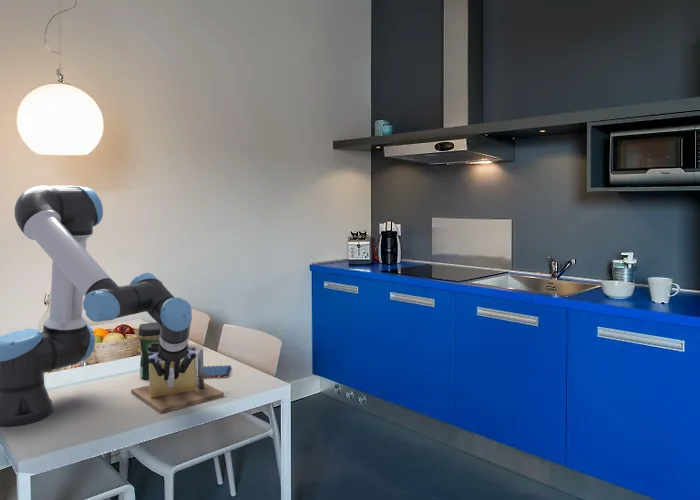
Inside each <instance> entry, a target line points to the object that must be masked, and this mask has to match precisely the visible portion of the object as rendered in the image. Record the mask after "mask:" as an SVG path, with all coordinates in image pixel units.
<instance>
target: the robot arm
mask: <svg viewBox="0 0 700 500" xmlns="http://www.w3.org/2000/svg"><path fill="white" fill-rule="evenodd" d="M103 207H104V206H103V203H102V201H101V198H100V197H99V196H98V193H96V191H94V190H93V189H92V188H90V187H86V186H80V185H38V186H37V185H36V186H32V187H30V188H28V189H25V191H23V192H22V193H21V194H20V195H19V197H18V198H17V200H16V203H15V205H14V219H15V221H16V225H17V226H18V228H19V229H20V231H21V232H22V233H23V235H24V236H25V237H27V239H29V240H32V241H35V242H36V243H37V244H38V245H39V247H40V248H41V249H43V251H44V252H45V254H47V256H49V258H50V259H51V260H52V264H51V266H52V267H51V287H50V302H49V303H50V306H49V307H50V308H49V317H47V318H46V319H45V320H44V321H43V327H42V328H43V330H42V331H41V330H40V329H38V328H37V329H36V328H27V329H25V328H24V329H23V330H22V329H21V330H15V331H12V332H8V333H6V334H4V335H2V336H0V427H10V426H13V427H15V426H21V425H26V424H31V423H34V422H37V421H40V420H42V419H44V418H45V419H46V417H48V416H50V415H51V414H52V413H53V411H54V409H53V408H54V407H53V406H54V405H53V401H52V399H51V398H50V396H49V394H48V390H47V389H46V386H45V373H49V372H52V371H54V370H58V369H63V368H65V367H70V366H74V365H77V364H79V363H81V362H84V361H86V360H87V359H88V358H89V357H90V356H91V355H92V354H93V352H94V348H95V343H96V338H95V334H93V333H94V330H93V329H92V327H91V326H90V325H89V324H88V321H87V320H86V318H84V316H83V310H84V311H85V316H86V317H87V318H88V320H90V321H92V322H96V323H100V322H107V321H113V320H115V319H119V318H124V317H127V316H132V315H137V314H141V313H146V312H147V314H148V315H149V316H150V317H151V318H152V319H153V320H154V321H155V322H157V323H158V324H159V326H160V338H159V349H158V350H157V353H156V354H153V353H149V363H151V364H153V366H154V368H155V370H156V372H157V374H158V376H162V375H164V380H167V383H168V387H173V385H174V379H177V378H178V377H179V373H185V371H186V370H187V368H188V366H189V365H190V363H191V361H192V360H193V359H194V358H195V357H196V354H197V350H196V348H195V347H192V348H191V349H189V339H190V330H191V323H192V320H193V316H192V315H193V314H192V313H193V312H192V307H191V304H190V303H189V301H187V299H183V298H180V297H176V296H174V295H173V294H172V293H171V292H170V290H169V289H168V288H167V287H166V286H165V285H164V284H163V282H162V281H161V280H160V279H158V278H157V276H155V275H154V274H153V273H150V272H143V273H141V274H140V275H137V276H135V277H134V278H133V279H132V280H131V282H130V283H129V284H127V285H120V286H119V285H118V284H117V283H116V282H115V281H114V280H113V279H112V278H111V277H110V275H109V274H108V273H107V272H106V271H105V270H104V269H103V267H102V266H101V265H100V264H99V263H98V261H96V259H94V257H92V255H91V254H90V253H89V252H88V251H87V240H88V239H89V238H90V237H91V236H92V235H93V232H94V227H96V226H97V225H100V223H101V221H102V220H103V216H104V208H103ZM158 358H160V359H161V360H163V361H165V362H164V368H162V367H161V364H160V362H159V360H158ZM182 358H184V359H183V361H182V362H181V364H180V360H181V359H182ZM172 361H174V367H173V368H170V364H171V362H172ZM179 365H180V366H179Z"/></svg>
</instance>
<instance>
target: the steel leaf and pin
mask: <svg viewBox="0 0 700 500" xmlns="http://www.w3.org/2000/svg"><path fill="white" fill-rule="evenodd" d="M182 359H184V358H182ZM158 360H159V362H164V361H163V360H161V359H160V358H158ZM204 366H205V365H204V350H203V349H201V348H200V349H197V350H196V357H195V358H194V372H195V387H197V386H198V389H199V390H202V389H204V383H205V378H204ZM197 376H198V377H197ZM197 379H198V383H197Z"/></svg>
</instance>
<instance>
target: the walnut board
mask: <svg viewBox="0 0 700 500" xmlns="http://www.w3.org/2000/svg"><path fill="white" fill-rule="evenodd" d="M197 383H198V378H197ZM130 392H131V394H132V395H133V396H135V397H136V398H138V399H139V400H140V401H142V402H143V403H144V404H146V405H147V406H149V407H150V408H152V409H153V410H154V411H156V412H158V413H159V414H165V413H169V412H171V411H176V410H178V409H182V408H186V407H190V406H194V405H198V404H202V403H205V402H208V401H212V400H216V399H219V398H223V397H224V396H225V394H224V391H221V390H220V389H217V388H215V387H213V386H212V385H210V384H207V383H206V382H204V389H202V390H199V389H198V386H197V387H195V390H194V391H188V392H181V393H175V394H168V395H162V396H155V397H150V384H148V385H145V386H140V387H136V388H132V389H130Z"/></svg>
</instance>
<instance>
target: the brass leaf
mask: <svg viewBox="0 0 700 500" xmlns="http://www.w3.org/2000/svg"><path fill="white" fill-rule="evenodd" d="M182 361H183V359H181V360H180V364H181V362H182ZM164 362H165V361H164ZM164 362H160V364H161V367H162V368H164ZM179 366H180V365H179ZM173 367H174V361H172V362H171V364H170V368H173ZM149 378H150V379H149V385H150V397H155V396H162V395H168V394H175V393H181V392H188V391H194V390H195V372H194V359H193V360H192V361H191V363H190V365H189V366H188V368H187V370H186V371H185V373H179V377H178V378H177V379H174V385H173V387H168V383H167V380H164V375H162V376H158V374H157V372H156V370H155V368H154V366H153V364H151V363H149Z"/></svg>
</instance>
